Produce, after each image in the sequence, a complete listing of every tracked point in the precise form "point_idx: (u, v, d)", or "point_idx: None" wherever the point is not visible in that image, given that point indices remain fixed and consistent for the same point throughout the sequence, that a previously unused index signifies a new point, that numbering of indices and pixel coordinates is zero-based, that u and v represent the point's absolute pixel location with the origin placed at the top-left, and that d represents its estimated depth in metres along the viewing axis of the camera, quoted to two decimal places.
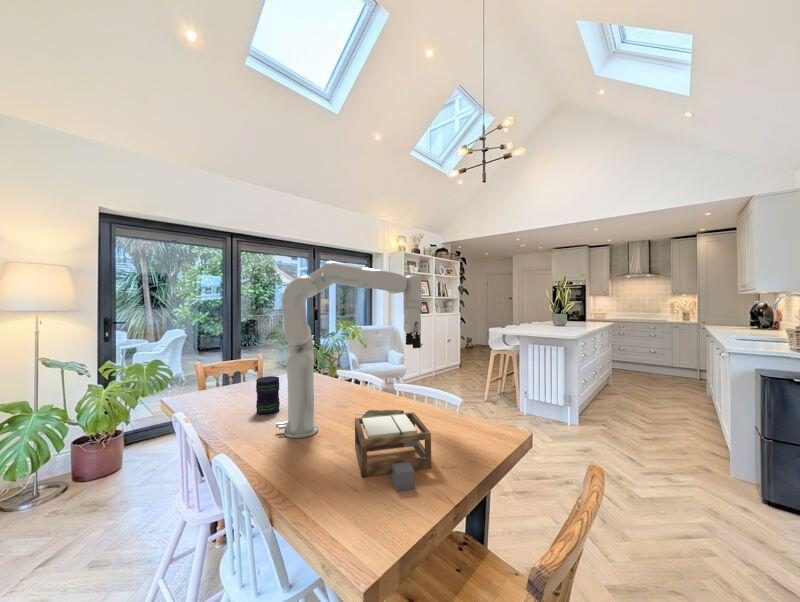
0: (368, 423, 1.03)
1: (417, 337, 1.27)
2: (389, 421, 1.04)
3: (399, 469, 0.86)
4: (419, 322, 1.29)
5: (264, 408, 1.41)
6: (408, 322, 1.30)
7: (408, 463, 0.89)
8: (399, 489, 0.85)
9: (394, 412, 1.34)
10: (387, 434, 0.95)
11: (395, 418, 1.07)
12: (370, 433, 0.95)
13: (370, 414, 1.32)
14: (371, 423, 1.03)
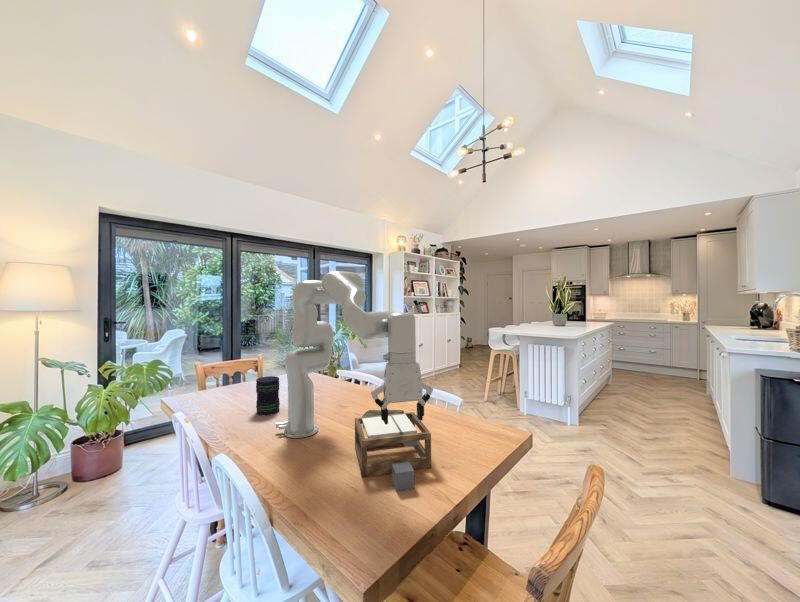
0: (368, 423, 1.03)
1: None
2: (389, 421, 1.04)
3: (399, 469, 0.86)
4: None
5: (264, 408, 1.41)
6: (415, 384, 0.85)
7: (408, 463, 0.89)
8: (399, 489, 0.85)
9: (394, 412, 1.34)
10: (387, 434, 0.95)
11: (395, 418, 1.07)
12: (370, 433, 0.95)
13: (370, 414, 1.32)
14: (371, 423, 1.03)
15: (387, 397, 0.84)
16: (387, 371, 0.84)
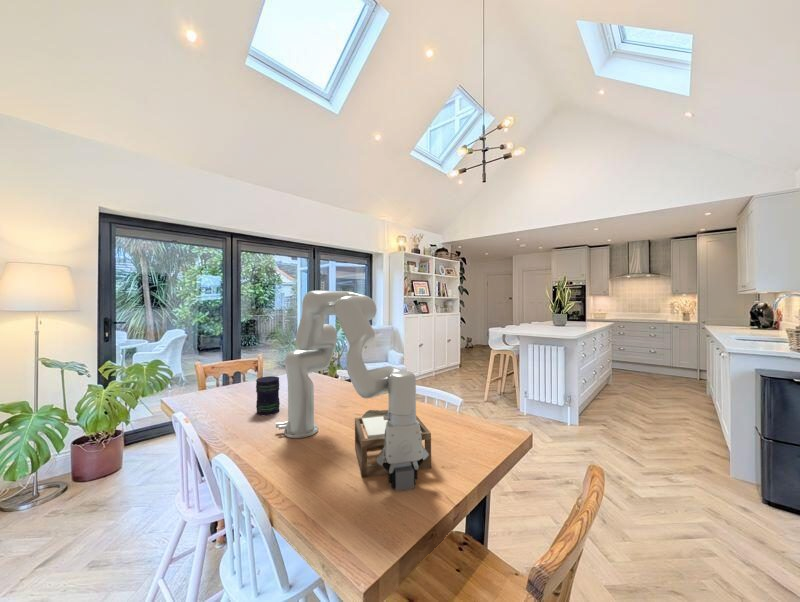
0: (368, 423, 1.03)
1: None
2: None
3: (399, 468, 0.86)
4: None
5: (264, 408, 1.41)
6: (415, 445, 0.86)
7: (408, 463, 0.89)
8: (399, 489, 0.85)
9: None
10: None
11: None
12: (370, 433, 0.95)
13: (370, 414, 1.32)
14: (371, 423, 1.03)
15: (387, 459, 0.84)
16: (387, 432, 0.85)
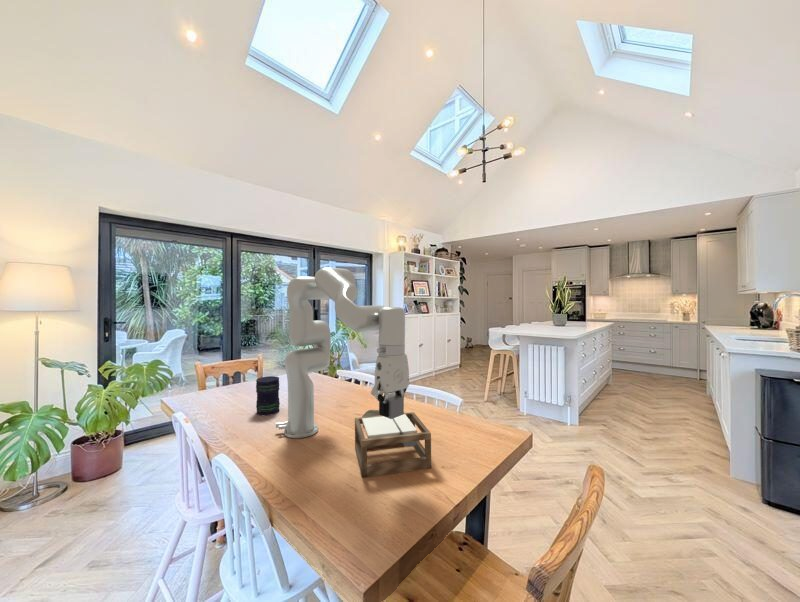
0: (368, 423, 1.03)
1: None
2: (389, 421, 1.04)
3: (390, 398, 0.90)
4: None
5: (264, 408, 1.41)
6: (405, 374, 0.92)
7: (392, 394, 0.94)
8: (393, 416, 0.89)
9: None
10: (387, 434, 0.95)
11: (395, 418, 1.07)
12: (370, 433, 0.95)
13: (370, 414, 1.32)
14: (371, 423, 1.03)
15: (385, 388, 0.87)
16: (384, 363, 0.87)
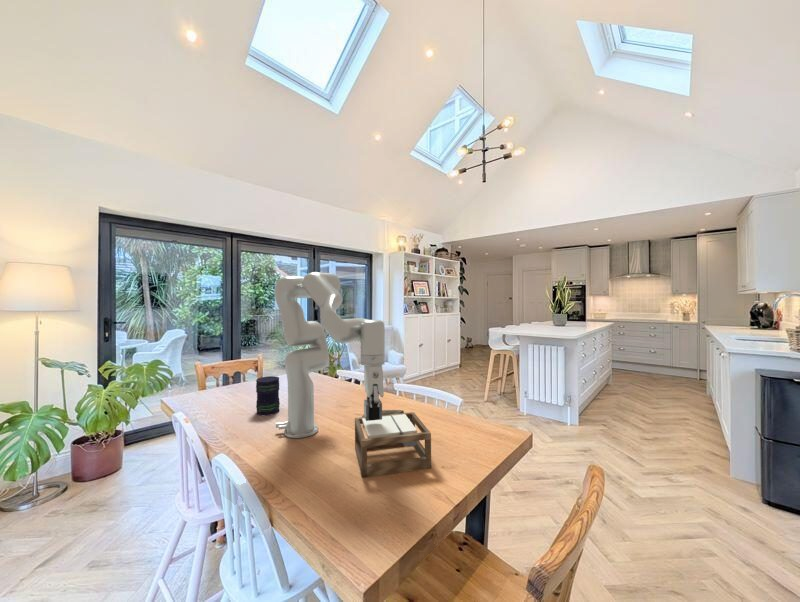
0: (368, 423, 1.03)
1: None
2: (389, 421, 1.04)
3: None
4: None
5: (264, 408, 1.41)
6: None
7: (367, 399, 1.03)
8: (381, 416, 1.00)
9: (394, 412, 1.34)
10: (387, 434, 0.95)
11: (395, 418, 1.07)
12: (370, 433, 0.95)
13: None
14: (371, 423, 1.03)
15: (383, 393, 0.97)
16: (381, 371, 0.97)
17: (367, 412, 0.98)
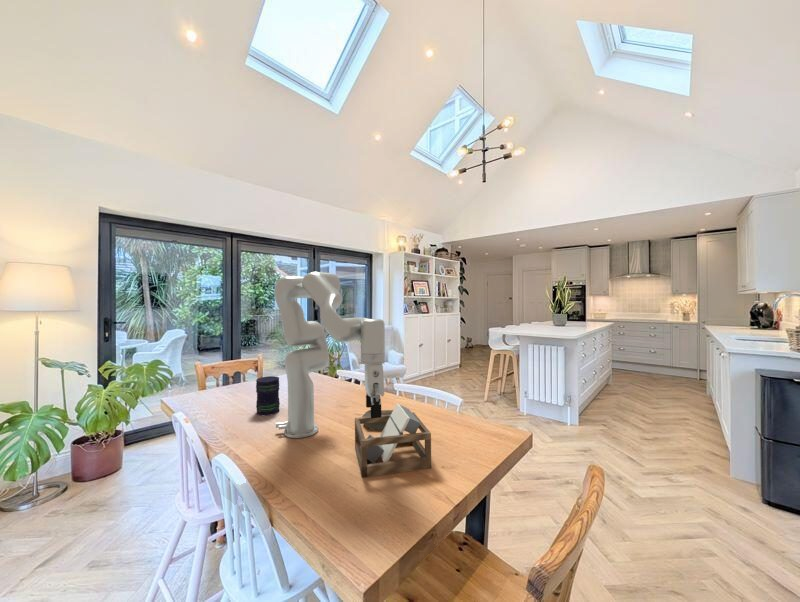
0: None
1: None
2: (391, 426, 1.05)
3: None
4: None
5: (264, 408, 1.41)
6: None
7: None
8: (382, 448, 1.01)
9: None
10: (394, 446, 0.96)
11: (393, 417, 1.07)
12: (384, 459, 0.96)
13: (370, 414, 1.32)
14: None
15: (383, 392, 0.97)
16: (381, 370, 0.97)
17: (368, 457, 0.99)
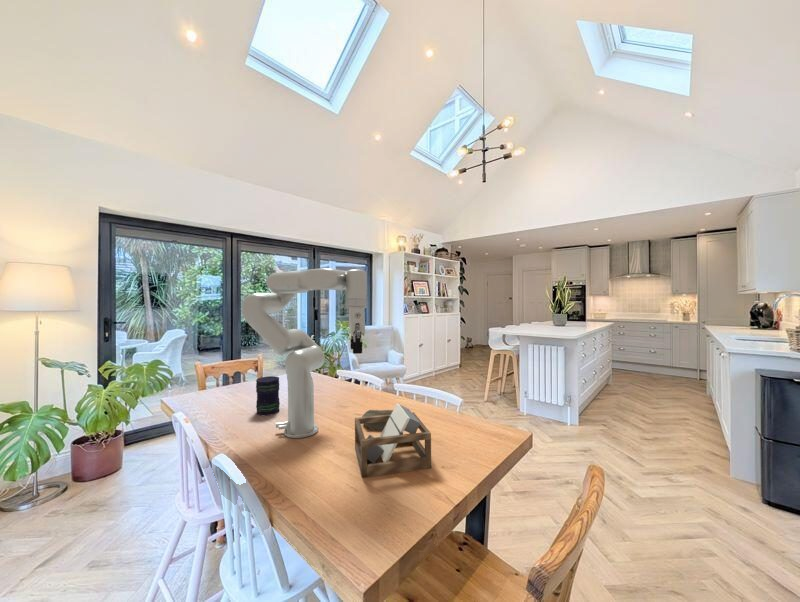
0: None
1: None
2: (391, 426, 1.05)
3: None
4: None
5: (264, 408, 1.41)
6: None
7: None
8: (382, 448, 1.01)
9: None
10: (394, 446, 0.96)
11: (393, 417, 1.07)
12: (385, 459, 0.96)
13: (370, 414, 1.32)
14: None
15: (364, 331, 1.12)
16: (362, 312, 1.12)
17: (368, 457, 0.99)
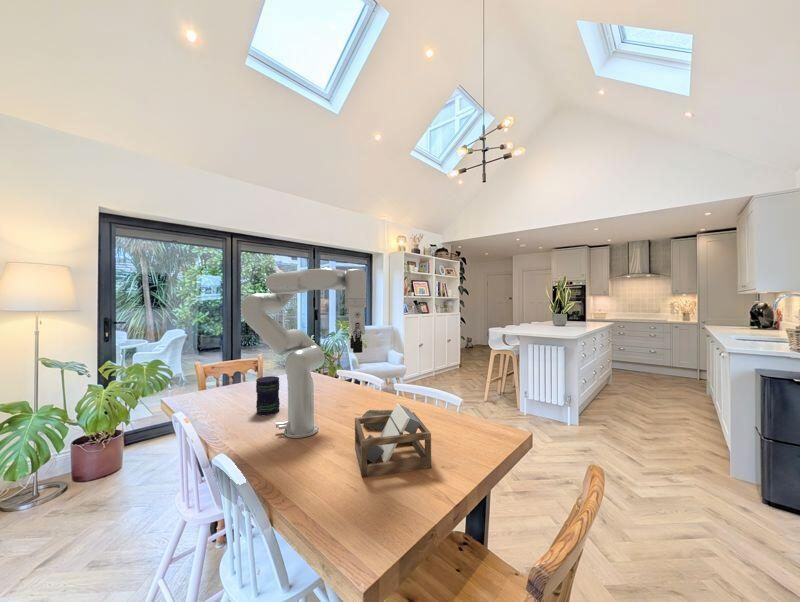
0: None
1: None
2: (391, 426, 1.05)
3: None
4: None
5: (264, 408, 1.41)
6: None
7: None
8: (382, 448, 1.01)
9: None
10: (394, 446, 0.96)
11: (393, 417, 1.07)
12: (385, 459, 0.96)
13: (370, 414, 1.32)
14: None
15: (364, 330, 1.12)
16: (362, 312, 1.12)
17: (368, 457, 0.99)
